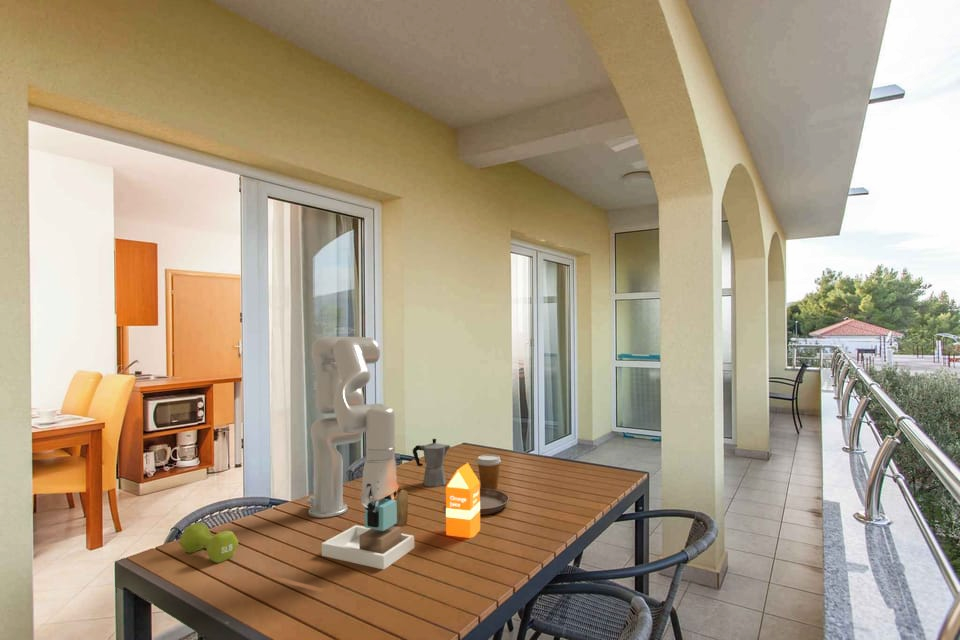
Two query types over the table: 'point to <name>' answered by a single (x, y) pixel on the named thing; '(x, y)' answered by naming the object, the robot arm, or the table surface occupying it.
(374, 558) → the white tray
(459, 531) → the orange juice
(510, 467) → the table surface
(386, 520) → the teal box
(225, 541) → the dumbbell
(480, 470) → the disposable coffee cup
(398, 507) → the rock
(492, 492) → the plant saucer
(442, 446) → the coffeepot
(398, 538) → the walnut block
